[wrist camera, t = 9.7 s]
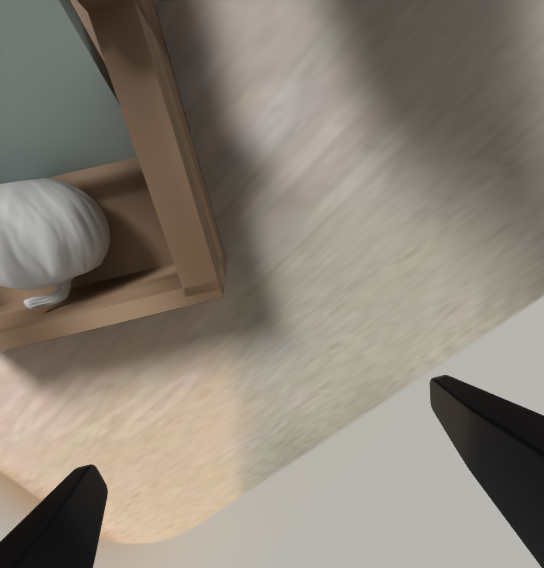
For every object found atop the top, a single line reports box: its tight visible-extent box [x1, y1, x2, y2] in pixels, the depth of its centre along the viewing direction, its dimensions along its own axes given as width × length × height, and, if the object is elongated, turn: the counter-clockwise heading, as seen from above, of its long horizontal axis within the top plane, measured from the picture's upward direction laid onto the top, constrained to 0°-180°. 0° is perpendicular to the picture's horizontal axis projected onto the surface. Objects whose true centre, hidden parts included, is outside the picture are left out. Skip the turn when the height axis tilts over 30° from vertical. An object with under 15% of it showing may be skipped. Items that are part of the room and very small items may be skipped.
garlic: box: [0, 178, 110, 309], centre depth 14 cm, size 6×5×5 cm
